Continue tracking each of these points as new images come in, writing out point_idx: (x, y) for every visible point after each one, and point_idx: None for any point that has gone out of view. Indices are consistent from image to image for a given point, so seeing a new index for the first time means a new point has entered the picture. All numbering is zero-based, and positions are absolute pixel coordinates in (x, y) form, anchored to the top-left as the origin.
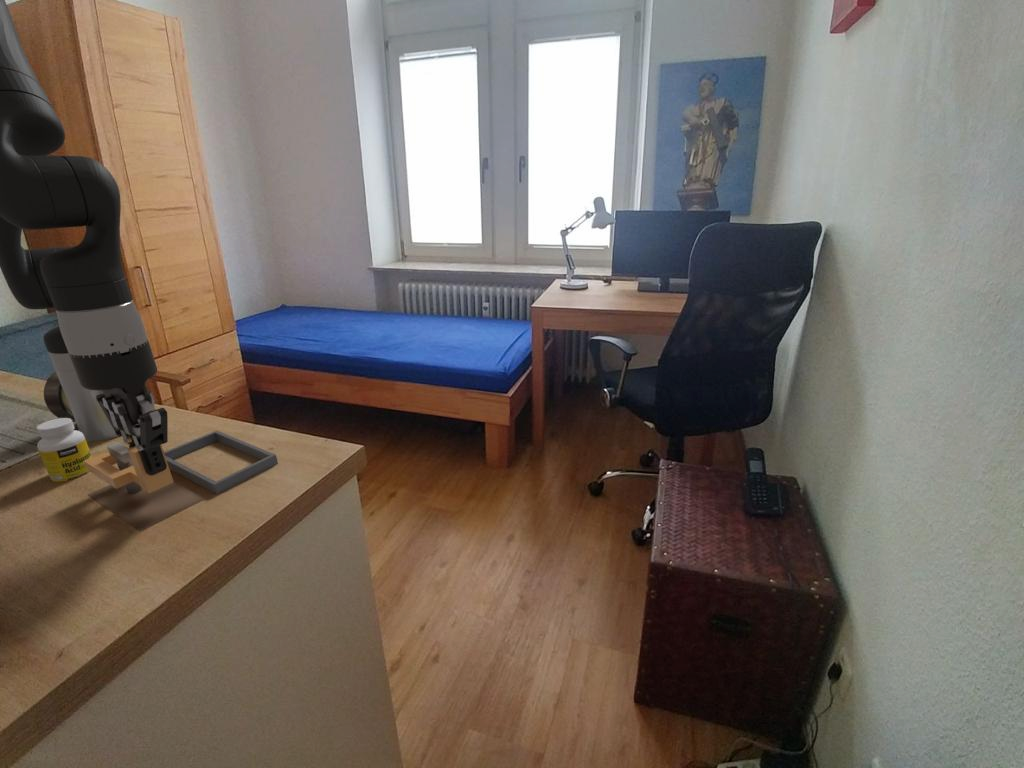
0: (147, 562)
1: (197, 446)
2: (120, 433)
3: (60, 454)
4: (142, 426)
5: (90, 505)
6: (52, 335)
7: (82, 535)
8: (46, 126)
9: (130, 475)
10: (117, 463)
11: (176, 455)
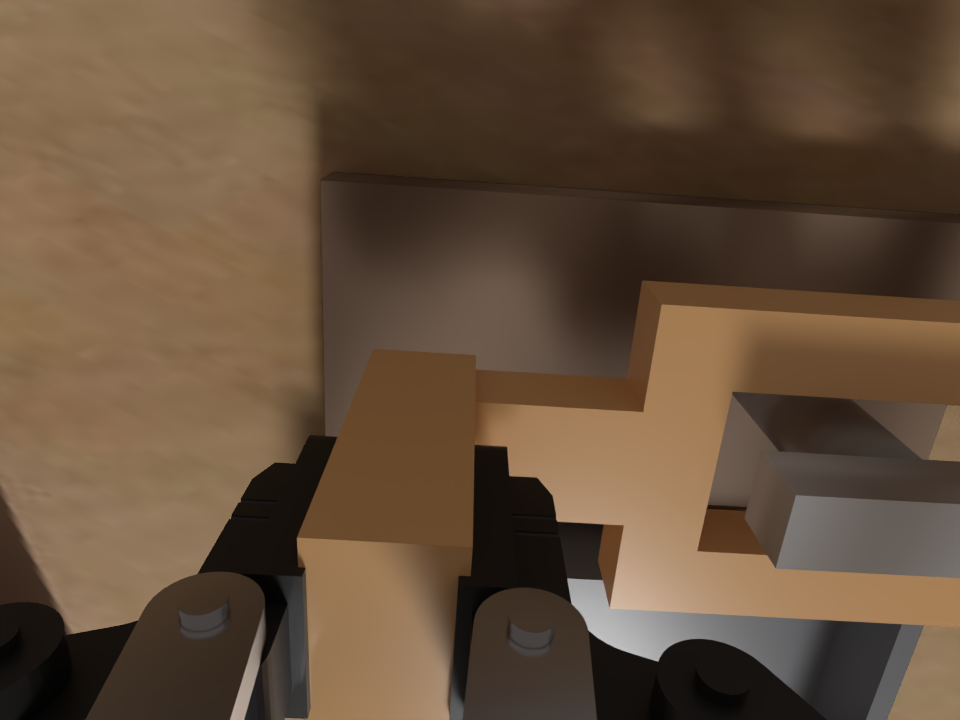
0: (133, 85)
1: (837, 718)
2: (659, 691)
3: None
4: None
5: (951, 203)
6: None
7: (698, 34)
8: None
9: (638, 395)
10: (869, 432)
11: (865, 634)
